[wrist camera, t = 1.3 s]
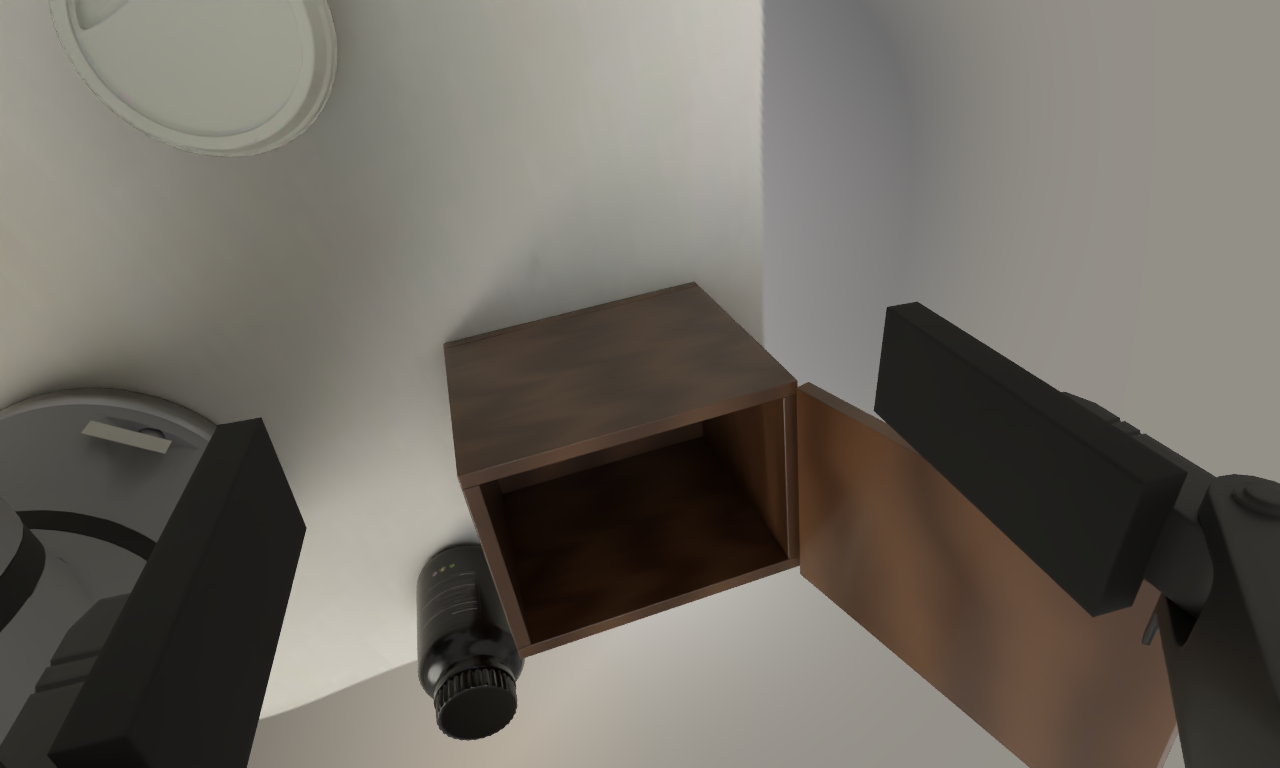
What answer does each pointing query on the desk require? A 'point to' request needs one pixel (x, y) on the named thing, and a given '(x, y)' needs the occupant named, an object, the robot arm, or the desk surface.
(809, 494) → the box lid
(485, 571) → the supplement bottle
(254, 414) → the desk surface
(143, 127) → the coffee cup
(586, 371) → the storage box
